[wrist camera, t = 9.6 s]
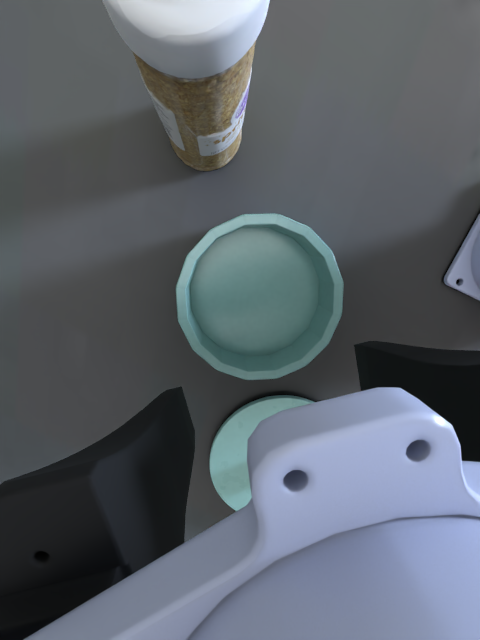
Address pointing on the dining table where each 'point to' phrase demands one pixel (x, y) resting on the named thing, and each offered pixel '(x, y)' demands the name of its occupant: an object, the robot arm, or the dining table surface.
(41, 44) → the dining table surface
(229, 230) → the tin
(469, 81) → the dining table surface
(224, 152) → the sprinkles bottle
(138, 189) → the dining table surface
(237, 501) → the tin lid
